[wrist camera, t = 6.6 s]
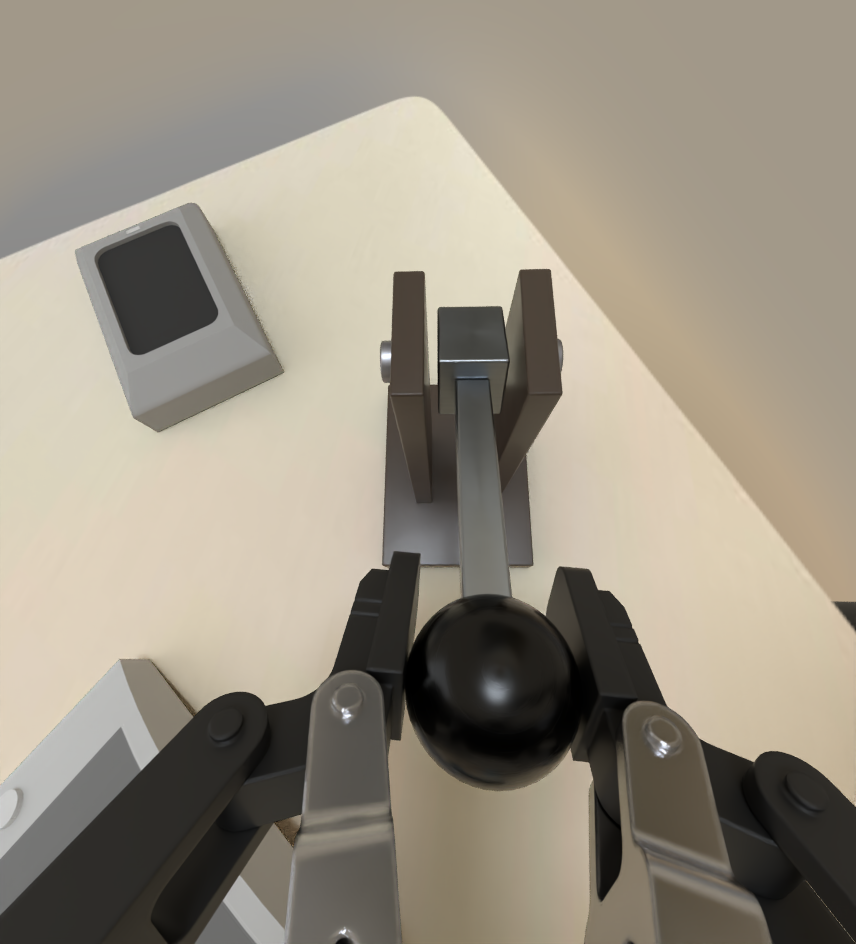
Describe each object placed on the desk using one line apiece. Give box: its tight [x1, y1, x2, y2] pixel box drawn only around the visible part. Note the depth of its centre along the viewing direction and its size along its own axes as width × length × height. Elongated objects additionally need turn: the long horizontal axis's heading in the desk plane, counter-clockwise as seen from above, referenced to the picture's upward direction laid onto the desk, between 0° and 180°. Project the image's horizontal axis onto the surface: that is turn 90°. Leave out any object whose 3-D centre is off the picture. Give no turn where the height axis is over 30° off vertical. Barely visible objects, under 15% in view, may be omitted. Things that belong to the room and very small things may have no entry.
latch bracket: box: [380, 269, 563, 567], centre depth 20 cm, size 12×9×16 cm
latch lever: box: [405, 306, 583, 791], centre depth 12 cm, size 13×4×4 cm, turn 0°
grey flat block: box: [75, 203, 284, 432], centre depth 30 cm, size 10×4×15 cm
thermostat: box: [0, 659, 293, 944], centre depth 19 cm, size 11×21×6 cm, turn 50°
